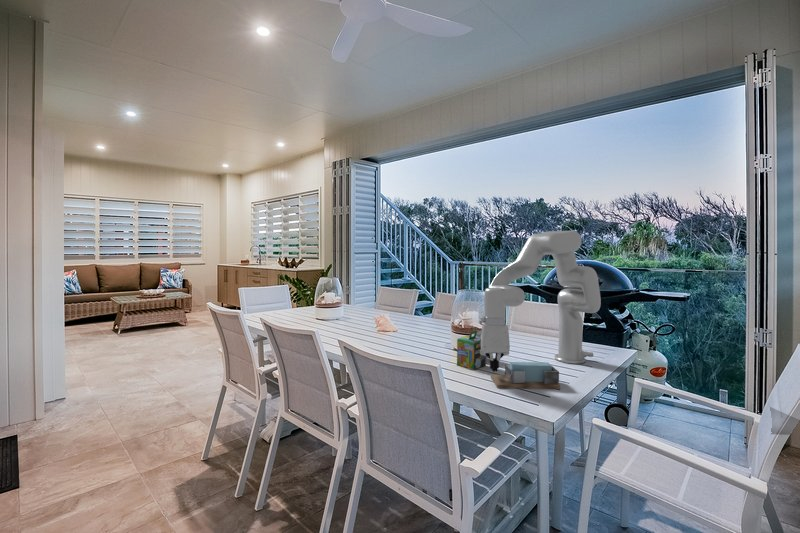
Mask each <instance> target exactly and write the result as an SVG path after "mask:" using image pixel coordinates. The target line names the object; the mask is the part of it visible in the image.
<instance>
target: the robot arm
mask: <svg viewBox="0 0 800 533" xmlns="http://www.w3.org/2000/svg"><path fill="white" fill-rule="evenodd" d="M581 245H582V237H581V235H580V233H579V232H577V231H575V230H552V231H551V230H549V231H544V232H540V233H539V232H538V233H534V234H532V235H530V236H528V238H527V240H526V242H525V243H524V245H523V247H522V248H521V250H520V252H519V254H518V255H517V258H516V259H515V260H514V261H513V262H511V263H510V264H508V265H507V266H506V267H504V268H503V269H501V271H499V272H498V273H497V274H496V275H495V277H494V278H493V279H492V282H491V283H490V285H489V287H486V288H485V290H484V291H483V292H484V301H483V302H484V304H483V305H484V307H483V309H484V310H483V314H484V315H483V317H480V319H479V320H480V323H481V322H482V323H483V324H482V326H481V330H480V331H481V338H480V348H481V349H480V354H481V355H484V356H487V357H488V358H487V359H489V369H491V370H492V372H498V369H499V368H500V361H501V359H502V358H503V357H504V356H509V355H510V348H511V346H510V332H509V331H510V330H509V326H508V325H507V324H506V307H519V306H521V305H522V304H523V303H524V302H525V299H526V295H525V292H524V291H525V290H523V289H522V288H520V287H518V286H513V285H510V284H511V283H513V282H514V281H516V280H518V279H522V278H525V277H527V276H530V275H533V274H534V273H535V272H536V271H537V269H538V267H539V265H540V263H541V262H542V260H543V258H544V256H552V258H553V260H554V266H555V272H556V276H557V282H558V283H559V285H560V286H561V287H563V288H564V289H561V290H560V291H559V292H558V294H557V305H558V313H559V317H558V318H559V319H558V320H559V324H558V353H557V354H555V355H554V359H555V360H556V361H558V362H561V363H565V364H574V365H575V364H577V365H580V364H584V363H586V358H587V357H589V358H592V357H594V353H593V351H591V352H590V351H586V350H585V351H584V350H583V332H584V331H583V330H584V328H583V327H584V322H583V318H582V315H581V313H586V314H595V313H598V311H600V308H601V305H602V303H601V301H602V299H601V291H600V284H599V277H598V274H597V272H596V270H595V269H594V268H593V267H590V266H586V265H585V266H583V265H578V262H577V259H576V253H575V252H576V251H578V250H579V249H580V247H581ZM494 354H495V356H494Z"/></svg>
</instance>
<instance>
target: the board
mask: <svg viewBox="0 0 800 533" xmlns="http://www.w3.org/2000/svg"><path fill="white" fill-rule="evenodd" d="M490 379H491V381H492V382H493V384H494V386H495V387H496V388H497V389H530V390H531V389H532V390H533V389H537V390H538V389H539V390H541V389H542V390H560V389H561V385H560V384H559V383H560V371H559V370H558V369H556V368H555V367H554V366H553V365H552V371H544V381H543V382H525V383H510V381H509V380H508V379H507V377H506V376H505V374H490Z"/></svg>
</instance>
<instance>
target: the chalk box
mask: <svg viewBox="0 0 800 533" xmlns="http://www.w3.org/2000/svg"><path fill="white" fill-rule="evenodd" d="M477 331H478V330H473V331H471V332H470V333H469V335H465V336H462V337H460V338H459V337H458V338H457V339H456V342H457V343H456V344H457V345H456V366H460V367H463V368H467V369H469V370H473V371H474V370H477V369H480V368H482V367H485V366H487V359H486V356H484V355H481V354H480V349H481V348H480V337H476V334H477ZM473 333H474V336H472V334H473Z"/></svg>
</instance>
